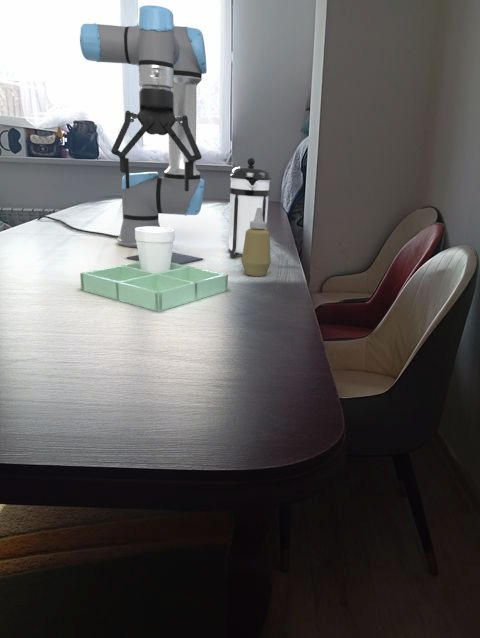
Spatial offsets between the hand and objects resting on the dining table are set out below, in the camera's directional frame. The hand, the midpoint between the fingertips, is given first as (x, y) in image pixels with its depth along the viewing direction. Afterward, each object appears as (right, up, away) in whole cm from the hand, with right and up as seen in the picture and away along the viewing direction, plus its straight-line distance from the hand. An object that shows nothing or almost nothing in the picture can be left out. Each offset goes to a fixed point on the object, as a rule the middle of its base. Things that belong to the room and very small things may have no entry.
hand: (157, 189), depth 121 cm
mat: (-5, -10, +34) cm, 36 cm away
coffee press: (+19, -7, +48) cm, 52 cm away
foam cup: (-2, -21, +8) cm, 22 cm away
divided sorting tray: (0, -24, 0) cm, 24 cm away
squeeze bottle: (+23, -17, +23) cm, 36 cm away
